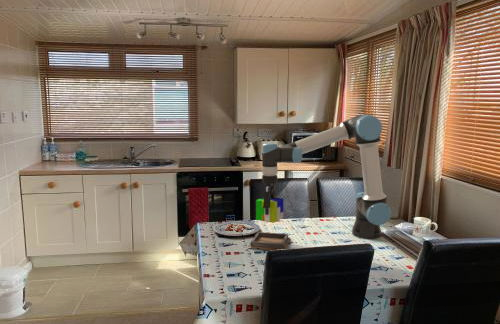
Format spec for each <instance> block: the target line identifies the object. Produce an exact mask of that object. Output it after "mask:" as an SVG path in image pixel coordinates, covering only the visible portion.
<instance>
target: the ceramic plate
mask: <svg viewBox="0 0 500 324" xmlns="http://www.w3.org/2000/svg"><path fill="white" fill-rule="evenodd" d="M231 223H239V224H247V225H250V226H252V227H253V228H254V231H252V232H250V233H246V234H226V233H222V232H221V231H220V230H219V227H221V226H223V225H227V224H229V225H228V226H229V227H227V228H226V230H225V231H233V229H231V228H235V227H236V226H237V225H233V224H231ZM230 227H231V228H230ZM242 228H244V229H246V227H245V226H244V225H239V226H238V228H237V229H234V230H235V231H236V232H243V230H244V229H243V230H242ZM248 229H250V228H247V230H248ZM260 229H261V226H260V225H258V224H257V223H255V222H251V221H245V220H234V221H233V220H232V221H224V222H221V223H218V224H216V225H215V226H214V227H213V230H214V232H215V233H217V234H220V235H224V236H229V237H240V236H242V235H243V236H248V235H253V234H255V233H258V232H260ZM243 236H242V237H243Z"/></svg>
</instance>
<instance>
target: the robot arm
mask: <svg viewBox="0 0 500 324" xmlns="http://www.w3.org/2000/svg"><path fill="white" fill-rule="evenodd" d="M382 131H383V124H382V123H381V120H380V119H379V118H378V117H376V116H374V115H372V114H358V115H356V116H353V117H351V118H349V119H347V120H344V121H342V122H340V123H339V125H337V126H334V127H331V128H329V129H326V130H323V131H321V132H318V133H316V134H312V135H309V136H306V137H305V138H301V139H299V140H296V141H294V142H290V143H286V144H284V145H282V146H281V147H280V146H278V144H277V143H272V142H268V143H263V144H262V150H261V160H262V161H261V164H262V165H261V168H260V169H261V170H262V171H261V173H262V176H261V180H262V181H261V182H262V183H263V184H265V185H266V186H264V193H263V194H264V195H263V197H264V205H263V208H264V221H263V222H266V221H270V200H271V197H275V198H276V186H275V184H276V183H278V164H280V163H285V164H286V163H288V164H291V163H292V164H293V163H294V164H297V163H301V162H302V160H303V155H304V154H307V153H309V152H312V151H315V150H317V149H321V148H323V147H326V146H329V145H333V144H335V143H337V142H340V141H342V140H347V141H349V140H351V139H355V140H354V141H355V144H356V146H358V147H359V154H360V163H361V164H360V165H361V170H362V172H361V173H362V180H363V189H364V191H361V192H357V193H356V197H355V199H356V200H355V204H356V205H355V207H356V208H355V221H354V224H353V226H352V230H351V232H352V234H351V235H353V236H355V237H356V238H361V239H367V240H369V239H370V240H371V239H378V238H380V237H382V229H381V226H382V225H384V224H386V223H388V221H389V220H390V219H391V217H392V210H391V207H390V206H389V205H388V198H387V195H386V194H385V193H384V190H383V182H382V172H381V163H380V154H379V144H380V143H381V134H382Z"/></svg>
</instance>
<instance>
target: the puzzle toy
mask: <svg viewBox="0 0 500 324" xmlns="http://www.w3.org/2000/svg"><path fill="white" fill-rule="evenodd" d="M263 205H264V196H263V197H261V198H258V199H256V200H255V220H256V221H260V222H265V223H272V224H274V223H276V222H278V221H280V220H282V219H284V198H280V197H276V196H275V197H271V200H270V221H264V208H263Z"/></svg>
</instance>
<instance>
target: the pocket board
mask: <svg viewBox="0 0 500 324" xmlns="http://www.w3.org/2000/svg"><path fill="white" fill-rule="evenodd" d="M289 242H291V236H289V234H288V233H279V232H263V231H257V232H256V234H255V236H254V237H253V238H252V239H251V240H250V243H249V244H248V246H247V247H251V248H259V249H258V250H261V249H266V250H265V251H273V250H277V249H287V247H288V245H289Z"/></svg>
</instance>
